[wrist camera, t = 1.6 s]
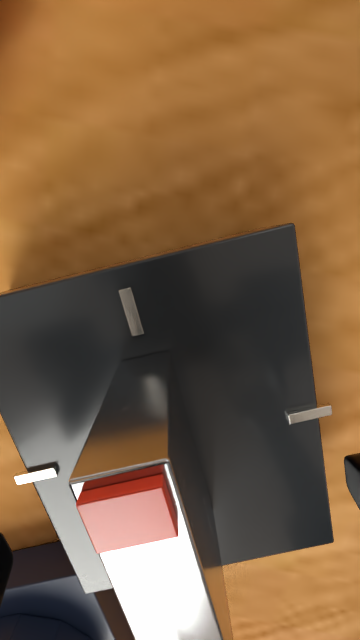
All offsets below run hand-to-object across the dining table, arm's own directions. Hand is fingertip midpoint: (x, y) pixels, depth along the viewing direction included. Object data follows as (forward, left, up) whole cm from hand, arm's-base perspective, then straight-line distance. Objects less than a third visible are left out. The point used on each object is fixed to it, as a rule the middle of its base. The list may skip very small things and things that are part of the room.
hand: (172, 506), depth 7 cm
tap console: (0, 0, -5) cm, 5 cm away
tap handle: (0, 0, -2) cm, 2 cm away
